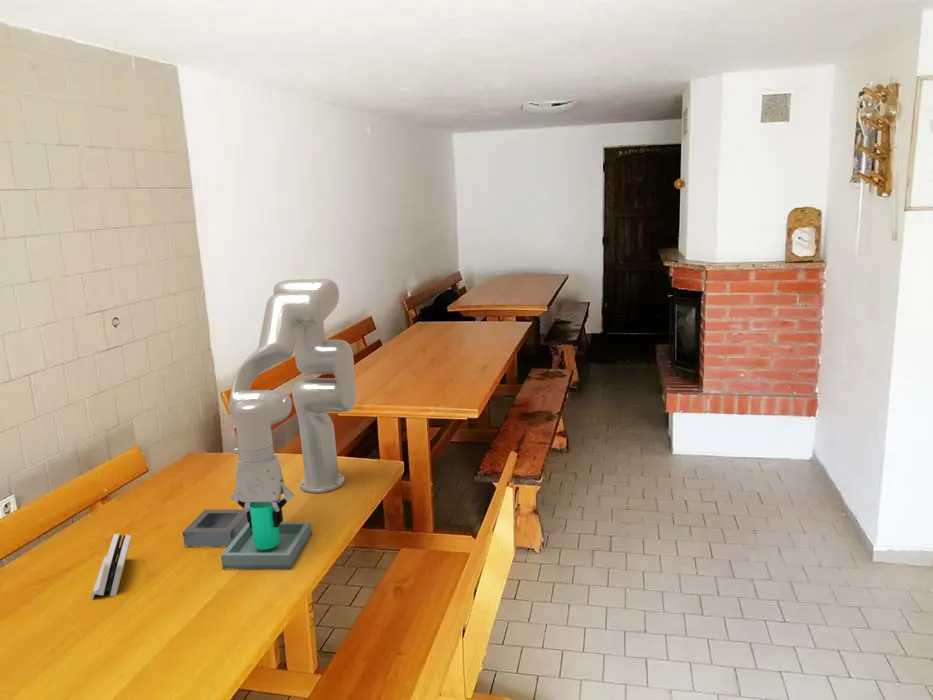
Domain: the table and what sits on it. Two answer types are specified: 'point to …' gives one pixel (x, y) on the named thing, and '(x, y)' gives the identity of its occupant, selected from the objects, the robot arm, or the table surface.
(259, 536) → the candle
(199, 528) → the holder
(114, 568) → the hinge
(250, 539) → the tray
